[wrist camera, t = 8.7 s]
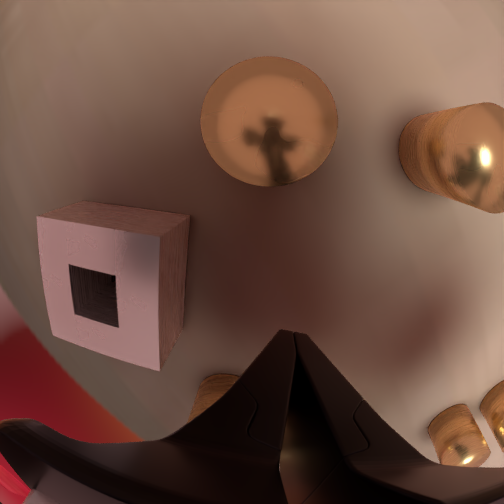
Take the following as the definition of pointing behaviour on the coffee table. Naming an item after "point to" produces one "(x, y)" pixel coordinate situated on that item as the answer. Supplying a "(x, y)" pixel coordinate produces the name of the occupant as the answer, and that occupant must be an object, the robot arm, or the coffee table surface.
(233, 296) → the coffee table surface
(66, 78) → the coffee table surface
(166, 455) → the robot arm
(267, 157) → the spacers
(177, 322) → the zinc nut
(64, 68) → the coffee table surface
